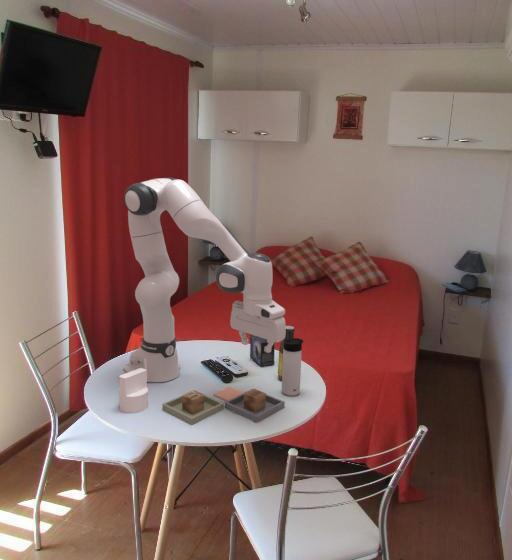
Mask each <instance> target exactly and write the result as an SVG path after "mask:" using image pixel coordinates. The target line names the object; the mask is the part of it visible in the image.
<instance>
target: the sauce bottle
mask: <svg viewBox="0 0 512 560" xmlns="http://www.w3.org/2000/svg"><path fill="white" fill-rule="evenodd" d="M294 334H295V327H294V326H291V325H286V335H285V338H284V340H282V341H280V342H279V348H278V349H279V351H278V362H277V363H278V364H277V378H278V380H280V381H282V370H283V348H284V341H285V340H287V339H291V338H295V335H294Z"/></svg>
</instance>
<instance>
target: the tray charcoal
mask: <svg viewBox="0 0 512 560" xmlns="http://www.w3.org/2000/svg"><path fill="white" fill-rule="evenodd" d="M253 389H254V388H251V389H249V390H247V391H245V392H244V393H246V392H248V391H251V390H253ZM244 393H243V394H241V395H239V396H237V397H235V398H233V399H231V400H228V401H225V402H224V409H226V410H228V411H230V412H232V413H234V414H237V415H239V416H241V417H243V418H246V419H247V420H250V421H252V422H254V423H256V424H257V423H259V422H262V421H264V420H265V419H267V418H268V417H270V416H271V415H273V414H275V413H277V412H278V411H281V410H283V409H284V408H285V407H286V406H285V403H286V401H285V400H282V399H279V398H277V397H274V396H272V395H269V394H267V393H266V408H264V409H262V410H260V411H258V412H256V413H255V412H252V411H250V410H248V409H245V408H244Z"/></svg>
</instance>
